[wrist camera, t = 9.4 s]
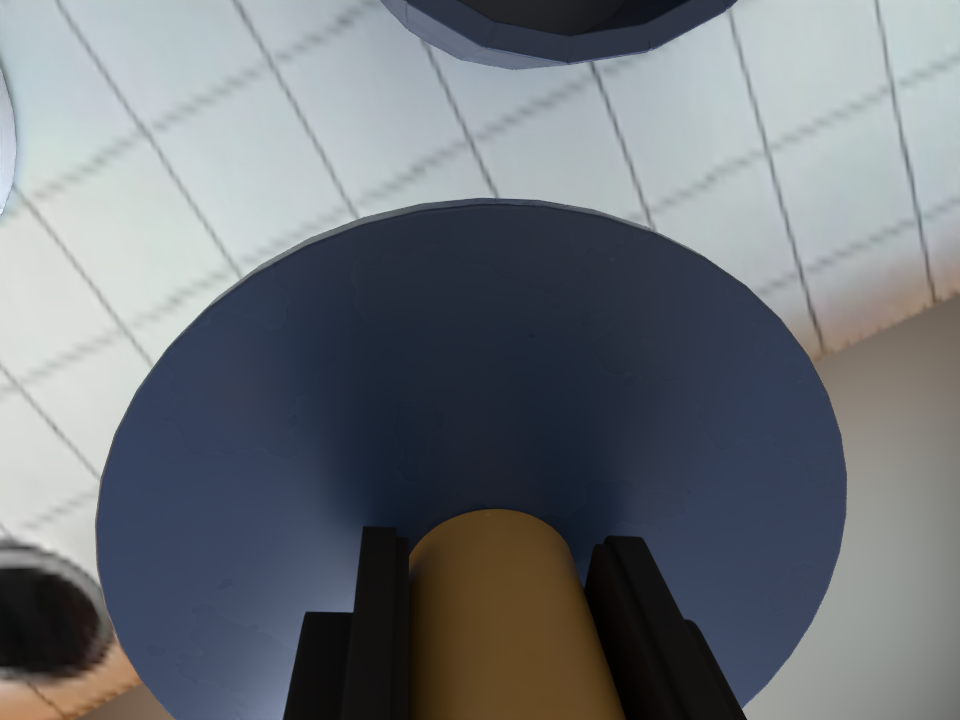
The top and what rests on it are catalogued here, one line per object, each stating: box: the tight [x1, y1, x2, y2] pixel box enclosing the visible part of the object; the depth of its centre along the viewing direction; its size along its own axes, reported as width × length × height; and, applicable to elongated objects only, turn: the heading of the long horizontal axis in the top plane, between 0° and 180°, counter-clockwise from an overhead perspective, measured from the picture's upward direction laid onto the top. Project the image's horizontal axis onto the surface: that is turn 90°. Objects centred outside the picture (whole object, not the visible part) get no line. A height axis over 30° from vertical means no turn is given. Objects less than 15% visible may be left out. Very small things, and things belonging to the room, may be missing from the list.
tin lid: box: [95, 198, 847, 720], centre depth 10 cm, size 13×13×6 cm
